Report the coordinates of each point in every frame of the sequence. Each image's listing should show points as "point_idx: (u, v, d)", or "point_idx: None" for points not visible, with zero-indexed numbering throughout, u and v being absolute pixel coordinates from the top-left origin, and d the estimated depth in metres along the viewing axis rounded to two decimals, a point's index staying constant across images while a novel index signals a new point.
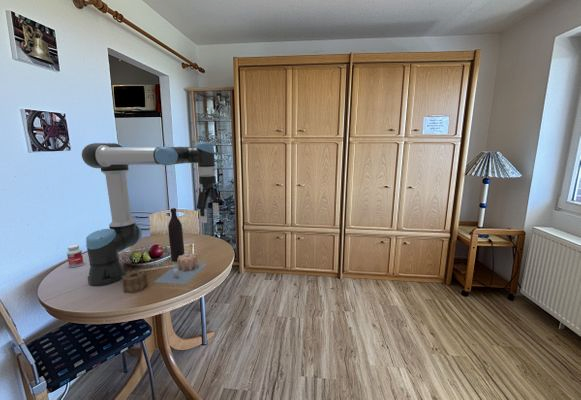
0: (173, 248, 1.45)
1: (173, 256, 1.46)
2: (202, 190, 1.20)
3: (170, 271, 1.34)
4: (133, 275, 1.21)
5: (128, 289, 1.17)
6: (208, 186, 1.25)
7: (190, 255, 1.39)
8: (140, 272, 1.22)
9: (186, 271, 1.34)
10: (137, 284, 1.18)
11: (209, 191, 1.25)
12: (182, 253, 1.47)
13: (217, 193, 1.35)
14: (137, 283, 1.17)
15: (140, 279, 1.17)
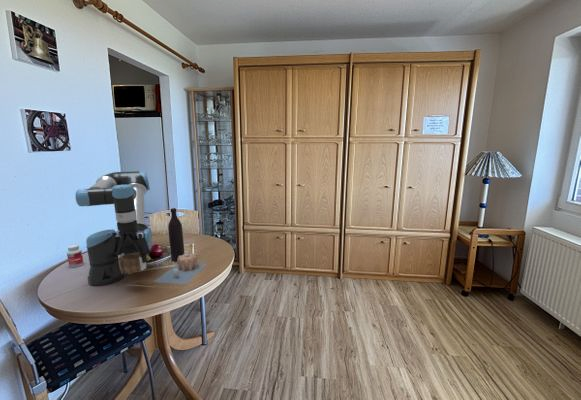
0: (173, 248, 1.45)
1: (173, 256, 1.46)
2: None
3: (170, 271, 1.34)
4: (131, 257, 1.20)
5: (126, 270, 1.16)
6: (122, 231, 1.15)
7: (190, 255, 1.39)
8: (138, 254, 1.21)
9: (186, 271, 1.34)
10: (135, 265, 1.16)
11: (121, 238, 1.15)
12: (182, 253, 1.47)
13: (141, 245, 1.15)
14: (135, 264, 1.16)
15: (138, 260, 1.16)
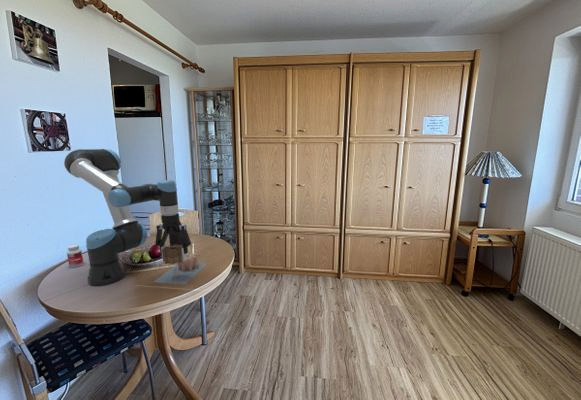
0: None
1: None
2: None
3: (170, 271, 1.34)
4: (172, 248, 1.27)
5: (169, 261, 1.22)
6: (165, 224, 1.22)
7: (190, 255, 1.39)
8: (178, 246, 1.28)
9: (186, 271, 1.34)
10: (177, 256, 1.23)
11: None
12: None
13: (183, 237, 1.22)
14: (177, 255, 1.23)
15: (180, 251, 1.23)
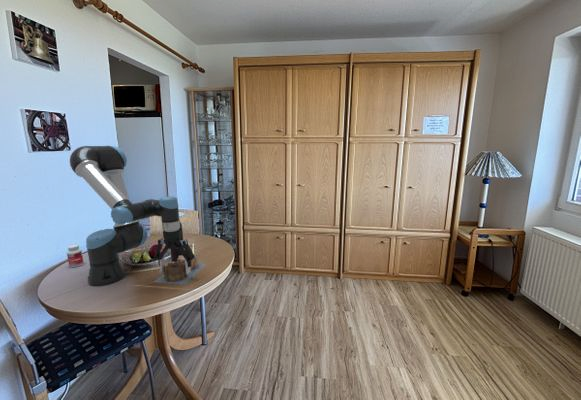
0: None
1: (173, 256, 1.46)
2: None
3: None
4: (173, 266, 1.29)
5: (170, 278, 1.24)
6: (167, 240, 1.24)
7: None
8: (180, 263, 1.29)
9: None
10: (178, 274, 1.25)
11: (166, 245, 1.24)
12: None
13: (186, 251, 1.24)
14: (178, 273, 1.25)
15: (181, 269, 1.25)
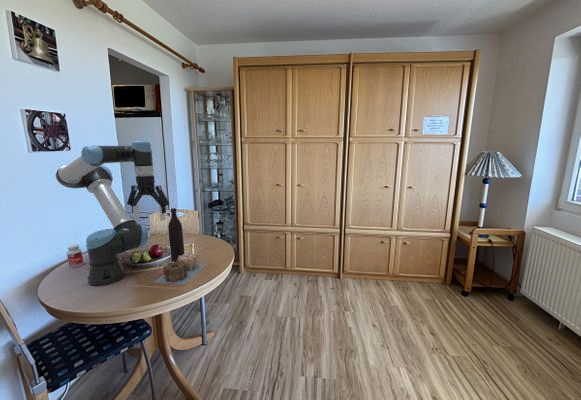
0: (173, 248, 1.45)
1: (173, 256, 1.46)
2: None
3: None
4: (173, 266, 1.29)
5: (170, 278, 1.24)
6: (140, 186, 1.23)
7: (190, 255, 1.39)
8: (180, 263, 1.29)
9: None
10: (178, 274, 1.25)
11: (139, 191, 1.23)
12: (182, 253, 1.47)
13: (160, 196, 1.22)
14: (178, 273, 1.25)
15: (181, 269, 1.25)
